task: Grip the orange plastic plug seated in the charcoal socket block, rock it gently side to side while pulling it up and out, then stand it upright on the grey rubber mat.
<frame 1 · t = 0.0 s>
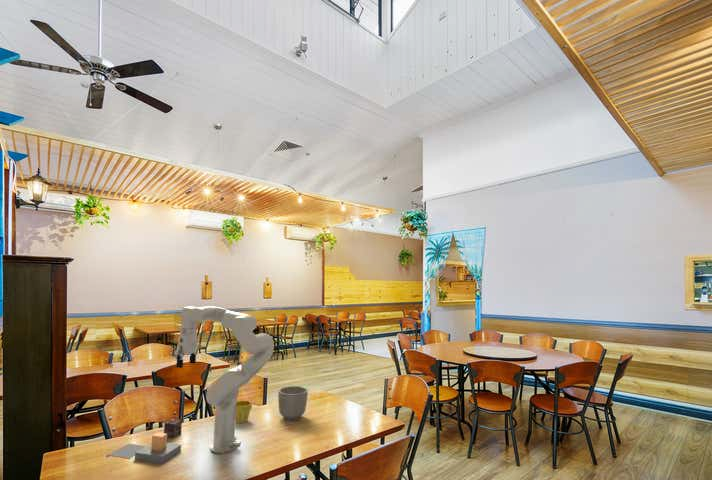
hand: (186, 365, 186), 37 cm above the table, tool pointing down, fingers open, 9 cm apart
socket block: (158, 456, 166), on the table
planter: (292, 418, 215), on the table
plant pot: (241, 421, 209), on the table
box: (172, 436, 187), on the table
plug: (158, 455, 166), resting on socket block
mat: (128, 452, 170), on the table
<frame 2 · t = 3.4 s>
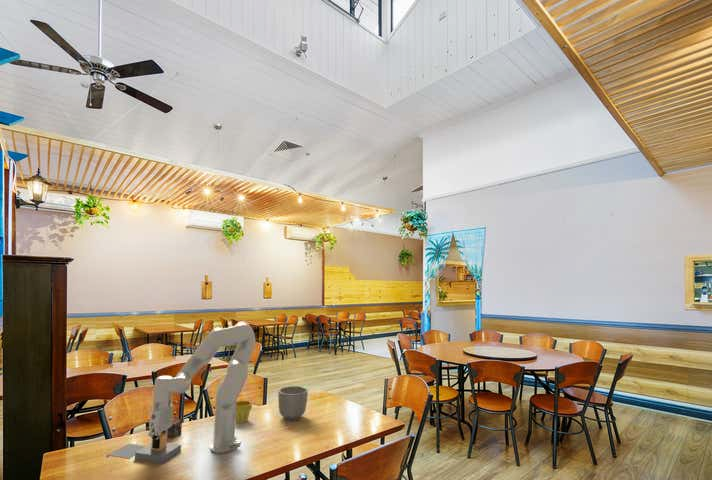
hand: (159, 445, 167), 5 cm above the table, tool pointing down, fingers closed on plug, 3 cm apart
plug: (158, 454, 166), point 1 cm above the table, touching gripper
everything else where it was.
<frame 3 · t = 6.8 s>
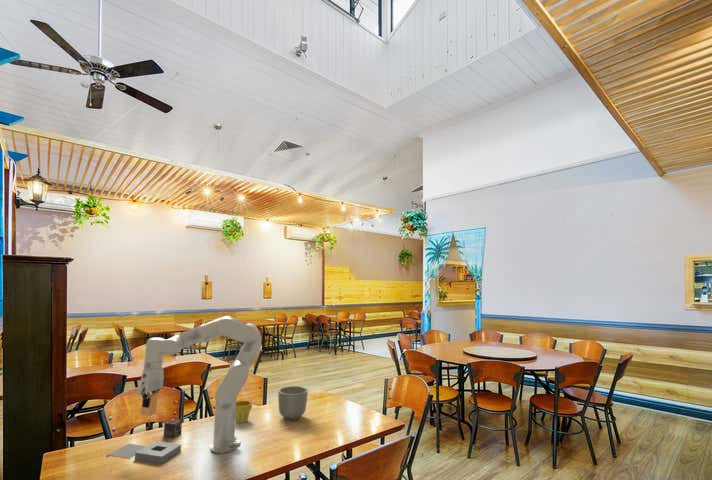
hand: (149, 405, 170), 22 cm above the table, tool pointing down, fingers closed on plug, 3 cm apart
plug: (147, 414, 169), point 18 cm above the table, touching gripper
everything else where it was.
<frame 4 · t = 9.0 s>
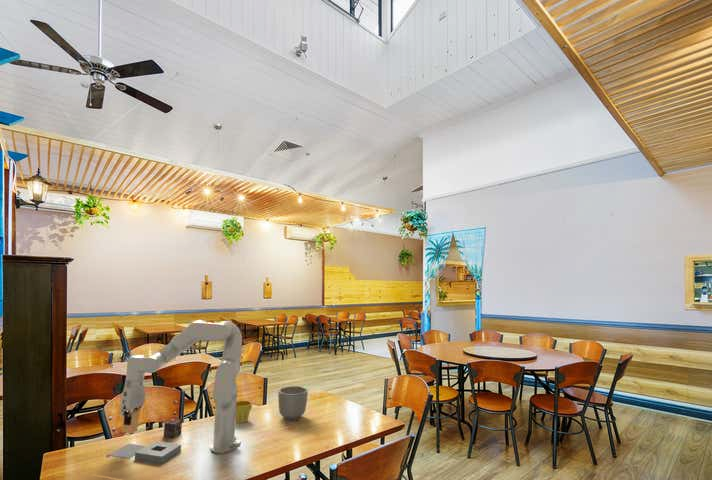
hand: (130, 422, 171), 13 cm above the table, tool pointing down, fingers closed on plug, 3 cm apart
plug: (129, 431, 171), point 9 cm above the table, touching gripper
everything else where it was.
when the fingers open (6 cm above the table, at t = 10.5 s): plug drops 2 cm, resting on mat.
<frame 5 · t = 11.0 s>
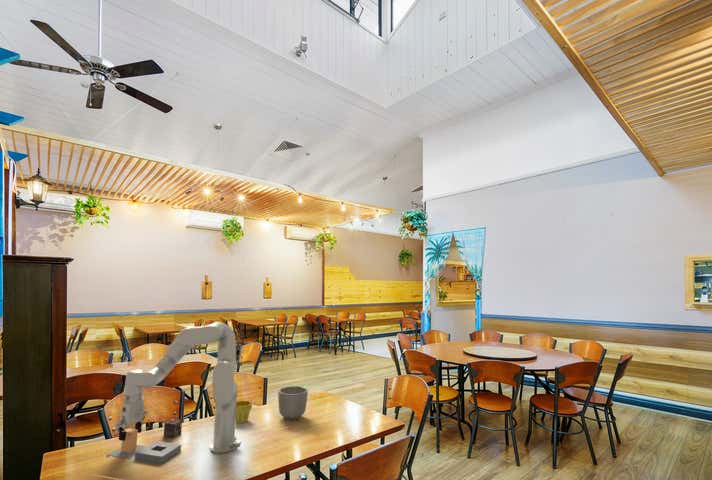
hand: (130, 436, 170), 7 cm above the table, tool pointing down, fingers open, 8 cm apart
plug: (128, 450, 170), point 1 cm above the table, touching mat
everything else where it was.
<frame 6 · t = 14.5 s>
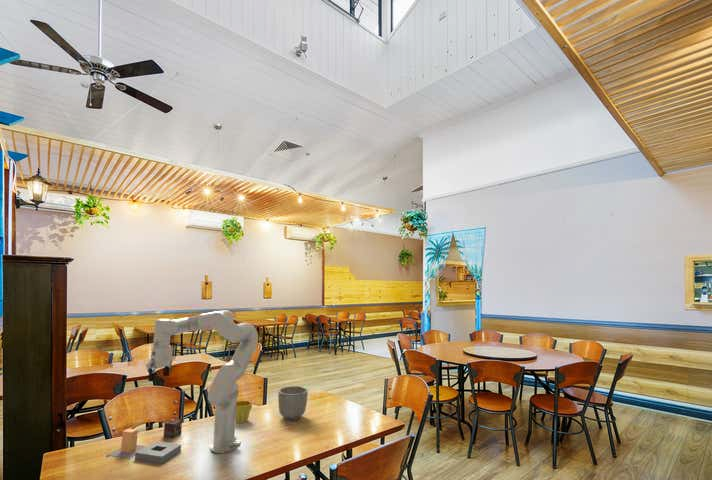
hand: (158, 378, 184), 30 cm above the table, tool pointing down, fingers open, 9 cm apart
nothing on the table moved.
at the end: plug inside the target area on the mat (0.2 cm from its centre), point 0.6 cm above the mat's base; plug tilted 0°; the gripper is holding nothing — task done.
